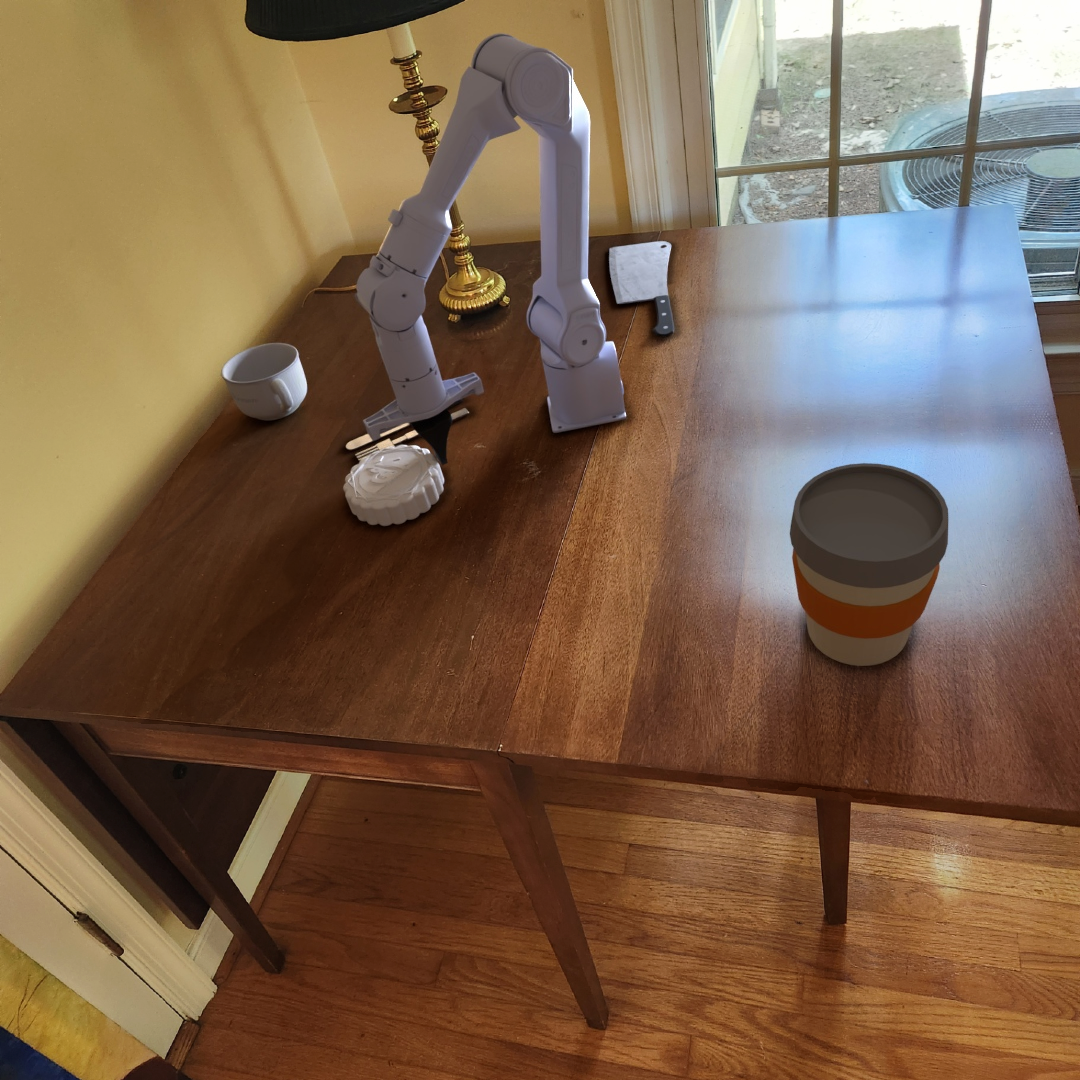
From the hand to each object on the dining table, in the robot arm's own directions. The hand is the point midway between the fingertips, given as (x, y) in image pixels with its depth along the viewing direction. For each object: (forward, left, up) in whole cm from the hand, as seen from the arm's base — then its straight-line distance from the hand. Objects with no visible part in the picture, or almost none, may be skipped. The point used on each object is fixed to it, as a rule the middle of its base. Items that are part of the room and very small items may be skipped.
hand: (441, 460), depth 111 cm
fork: (+4, -9, -2) cm, 10 cm away
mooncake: (+6, +3, -2) cm, 7 cm away
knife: (+6, -12, -2) cm, 14 cm away
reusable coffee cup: (-39, +36, -2) cm, 53 cm away
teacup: (+24, -21, -2) cm, 32 cm away
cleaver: (-31, -35, -2) cm, 47 cm away
